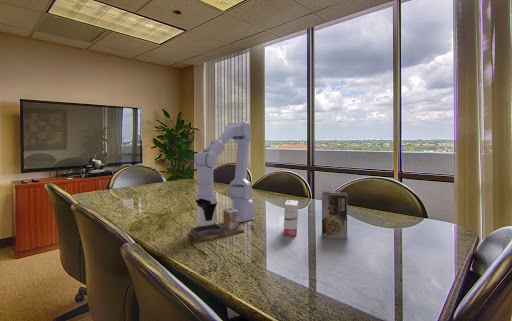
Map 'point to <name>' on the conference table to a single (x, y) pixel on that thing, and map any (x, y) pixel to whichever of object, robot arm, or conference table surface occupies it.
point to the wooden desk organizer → (219, 227)
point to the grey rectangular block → (201, 216)
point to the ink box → (291, 217)
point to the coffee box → (334, 215)
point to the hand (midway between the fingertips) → (206, 218)
